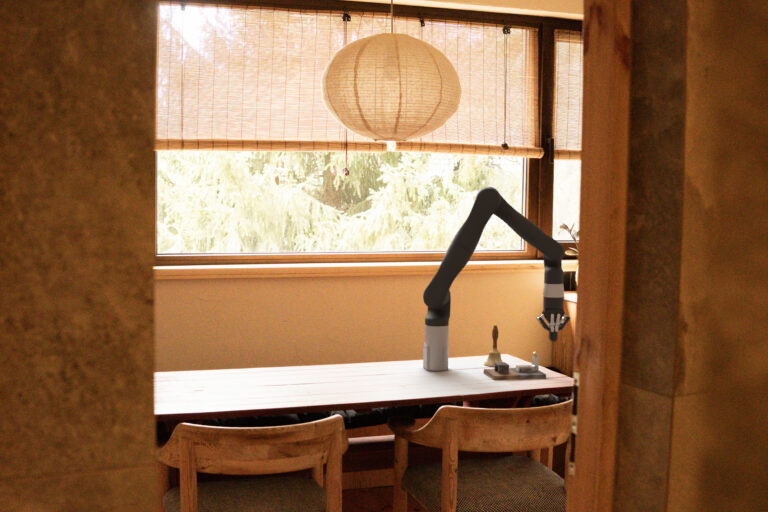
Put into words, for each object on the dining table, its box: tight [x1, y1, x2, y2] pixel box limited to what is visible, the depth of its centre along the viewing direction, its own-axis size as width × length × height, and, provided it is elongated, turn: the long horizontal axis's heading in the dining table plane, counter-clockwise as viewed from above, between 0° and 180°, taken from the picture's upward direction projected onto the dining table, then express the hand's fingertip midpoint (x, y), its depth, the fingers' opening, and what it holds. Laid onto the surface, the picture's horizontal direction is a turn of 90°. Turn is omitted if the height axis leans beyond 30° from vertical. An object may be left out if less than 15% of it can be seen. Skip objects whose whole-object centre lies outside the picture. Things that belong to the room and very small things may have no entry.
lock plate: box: [483, 361, 547, 381], centre depth 263 cm, size 20×12×5 cm, turn 100°
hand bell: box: [483, 324, 503, 368], centre depth 283 cm, size 8×8×16 cm
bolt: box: [515, 351, 540, 372], centre depth 264 cm, size 8×2×7 cm, turn 100°
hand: (553, 341), depth 265 cm, fingers closed
